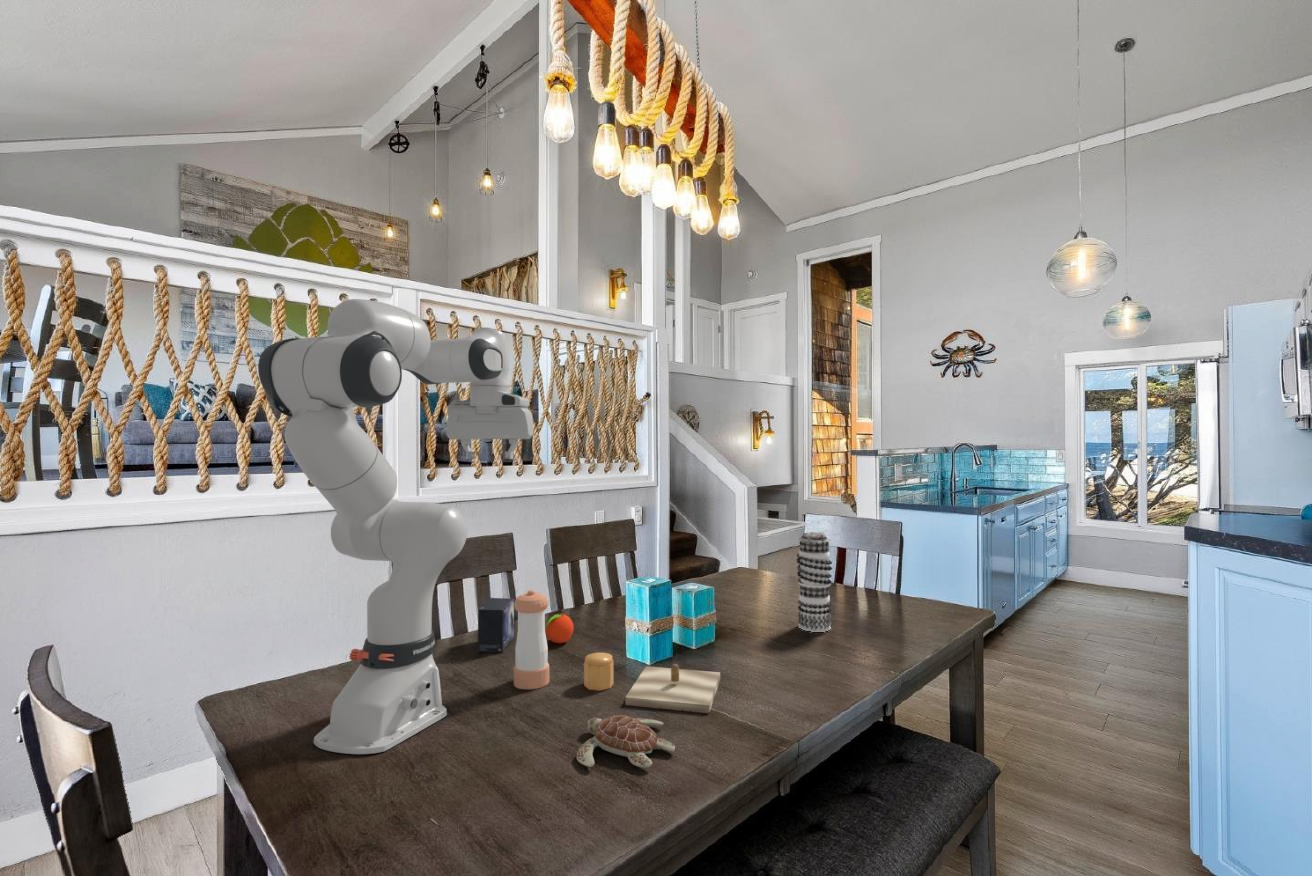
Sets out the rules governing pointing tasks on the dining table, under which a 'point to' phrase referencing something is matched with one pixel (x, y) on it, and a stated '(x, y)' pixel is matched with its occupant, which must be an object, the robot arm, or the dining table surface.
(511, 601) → the small box
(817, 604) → the decorative candle
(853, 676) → the dining table surface
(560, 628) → the clementine
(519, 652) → the salt shaker
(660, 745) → the decorative turtle
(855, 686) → the dining table surface
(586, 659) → the tan rounded cylinder
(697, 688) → the square peg board
